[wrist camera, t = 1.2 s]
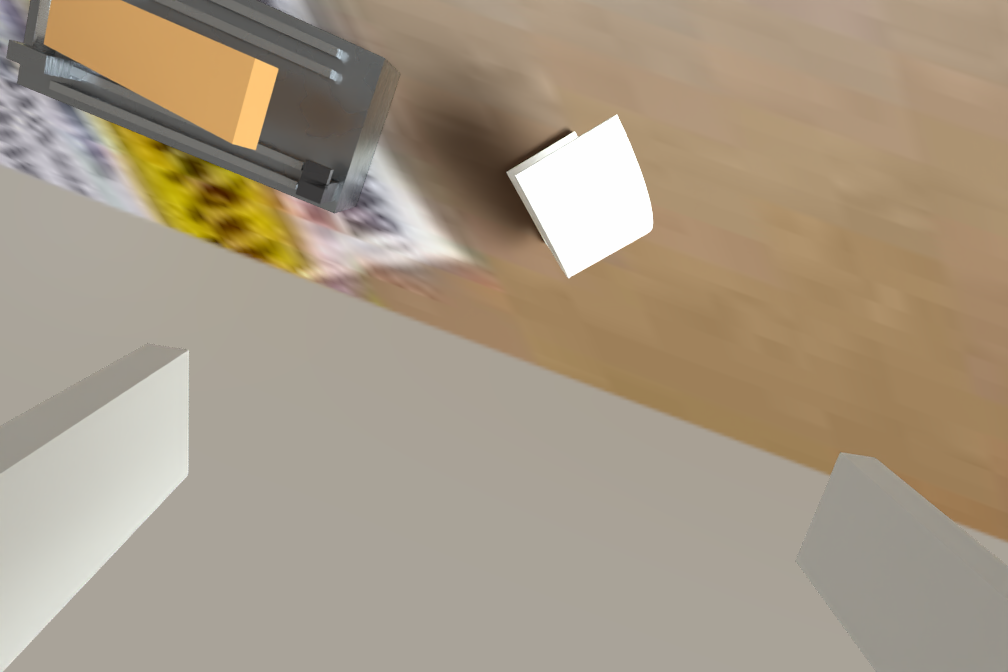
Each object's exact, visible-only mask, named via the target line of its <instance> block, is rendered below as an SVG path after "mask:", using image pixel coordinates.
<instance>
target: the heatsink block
mask: <svg viewBox="0 0 1008 672" xmlns="http://www.w3.org/2000/svg"><path fill="white" fill-rule="evenodd" d="M122 1H124V2H126V3H129V4H131V5H133V6H136V7H138V8H140V9H142V10H145V11H147V12H149V13H152V14H154V15H156V16H159V17H161V18H163V19H166V20H168V21H170V22H173V23H175V24H177V25H180V26H182V27H184V28H186V29H189V30H191V31H193V32H196V33H198V34H200V35H203V36H205V37H207V38H210V39H212V40H214V41H217V42H219V43H221V44H223V45H226V46H228V47H230V48H233V49H235V50H237V51H240V52H242V53H244V54H247V55H249V56H251V57H254V58H256V59H258V60H260V61H263V62H265V63H267V64H269V65H272V66H274V67H276V68H278V73H277V77H276V80H275V84H274V87H273V91H272V94H271V98H270V101H269V105H268V109H267V112H266V116H265V119H264V123H263V126H262V130H261V133H260V137H259V140H258V144H257V148H256V150H253V149H249V148H246V147H242V146H238V145H234V144H231V143H230V142H228V141H226V140H224V139H222V138H220V137H218V136H216V135H214V134H213V133H211V132H209V131H207V130H205V129H203V128H201V127H199V126H197V125H196V124H194V123H192V122H190V121H188V120H186V119H184V118H182V117H180V116H179V115H177V114H175V113H173V112H171V111H169V110H167V109H165V108H163V107H162V106H160V105H158V104H156V103H154V102H152V101H150V100H148V99H146V98H145V97H143V96H141V95H139V94H137V93H135V92H133V91H131V90H129V89H128V88H126V87H124V86H122V85H120V84H118V83H116V82H114V81H112V80H111V79H109V78H107V77H105V76H103V75H101V74H99V73H97V72H95V71H93V70H92V69H90V68H88V67H86V66H84V65H82V64H80V63H78V62H76V61H75V60H73V59H71V58H69V57H67V56H65V55H63V54H61V53H59V52H58V51H56V50H54V49H52V48H50V47H48V46H46V45H44V39H45V33H46V28H47V22H48V16H49V10H50V4H51V0H31V1H30V7H29V13H28V19H27V26H26V32H25V38H24V43H20V42H17V41H13V40H9V45H8V51H7V57H6V58H7V59H10V60H12V61H15V62H17V63H19V64H20V68H19V75H18V81H17V84H19V85H22V86H24V87H27V88H29V89H31V90H34V91H36V92H39V93H41V94H44V95H46V96H49V97H51V98H53V99H56V100H58V101H61V102H63V103H66V104H68V105H71V106H73V107H75V108H78V109H80V110H83V111H85V112H88V113H90V114H93V115H95V116H98V117H100V118H102V119H105V120H107V121H110V122H112V123H115V124H117V125H120V126H122V127H124V128H127V129H129V130H132V131H134V132H137V133H139V134H142V135H144V136H146V137H149V138H151V139H154V140H156V141H159V142H161V143H164V144H166V145H169V146H171V147H173V148H176V149H178V150H181V151H183V152H186V153H188V154H191V155H193V156H195V157H198V158H200V159H203V160H205V161H208V162H210V163H213V164H215V165H217V166H220V167H222V168H225V169H227V170H230V171H232V172H235V173H237V174H240V175H242V176H244V177H247V178H249V179H252V180H254V181H257V182H259V183H262V184H264V185H266V186H269V187H271V188H274V189H276V190H279V191H281V192H284V193H286V194H288V195H291V196H293V197H296V198H298V199H301V200H303V201H306V202H308V203H311V204H313V205H315V206H318V207H320V208H323V209H325V210H328V211H330V212H333V213H337V212H340V211H343V210H347V209H350V208H353V207H356V205H357V202H358V199H359V197H360V194H361V191H362V188H363V185H364V182H365V179H366V176H367V173H368V170H369V167H370V164H371V161H372V158H373V155H374V152H375V149H376V146H377V143H378V140H379V137H380V134H381V131H382V128H383V125H384V122H385V120H386V117H387V114H388V111H389V108H390V105H391V102H392V99H393V96H394V93H395V90H396V87H397V84H398V81H399V78H400V75H401V74H400V73H399V72H398V71H397V70H396V69H395V68H394V67H393V66H392V65H391V64H390V63H389V62H388V61H387V60H386V59H385V58H383V57H381V56H379V55H376V54H374V53H372V52H370V51H368V50H365V49H363V48H361V47H359V46H357V45H354V44H352V43H350V42H348V41H346V40H343V39H341V38H339V37H337V36H335V35H332V34H330V33H328V32H326V31H323V30H321V29H319V28H317V27H315V26H312V25H310V24H308V23H306V22H304V21H301V20H299V19H297V18H295V17H293V16H290V15H288V14H286V13H284V12H281V11H279V10H277V9H275V8H273V7H270V6H268V5H266V4H264V3H262V2H259V1H257V0H122Z"/></svg>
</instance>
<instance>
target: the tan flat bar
mask: <svg viewBox="0 0 1008 672" xmlns="http://www.w3.org/2000/svg"><path fill="white" fill-rule="evenodd" d="M44 45H46V46H48V47H50V48H52V49H54V50H56V51H58V52H59V53H61V54H63V55H65V56H67V57H69V58H71V59H73V60H75V61H76V62H78V63H80V64H82V65H84V66H86V67H88V68H90V69H92V70H93V71H95V72H97V73H99V74H101V75H103V76H105V77H107V78H109V79H111V80H112V81H114V82H116V83H118V84H120V85H122V86H124V87H126V88H128V89H129V90H131V91H133V92H135V93H137V94H139V95H141V96H143V97H145V98H146V99H148V100H150V101H152V102H154V103H156V104H158V105H160V106H162V107H163V108H165V109H167V110H169V111H171V112H173V113H175V114H177V115H179V116H180V117H182V118H184V119H186V120H188V121H190V122H192V123H194V124H196V125H197V126H199V127H201V128H203V129H205V130H207V131H209V132H211V133H213V134H214V135H216V136H218V137H220V138H222V139H224V140H226V141H228V142H230V143H231V144H234V145H238V146H242V147H246V148H249V149H253V150H256V148H257V144H258V140H259V137H260V133H261V130H262V126H263V123H264V119H265V116H266V112H267V109H268V105H269V101H270V98H271V94H272V91H273V87H274V84H275V80H276V77H277V73H278V68H276V67H274V66H272V65H269V64H267V63H265V62H263V61H260V60H258V59H256V58H254V57H251V56H249V55H247V54H244V53H242V52H240V51H237V50H235V49H233V48H230V47H228V46H226V45H223V44H221V43H219V42H217V41H214V40H212V39H210V38H207V37H205V36H203V35H200V34H198V33H196V32H193V31H191V30H189V29H186V28H184V27H182V26H180V25H177V24H175V23H173V22H170V21H168V20H166V19H163V18H161V17H159V16H156V15H154V14H152V13H149V12H147V11H145V10H142V9H140V8H138V7H136V6H133V5H131V4H129V3H126V2H124V1H122V0H51V4H50V10H49V16H48V22H47V28H46V33H45V39H44Z"/></svg>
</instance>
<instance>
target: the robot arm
mask: <svg viewBox="0 0 1008 672" xmlns="http://www.w3.org/2000/svg"><path fill="white" fill-rule="evenodd" d="M188 416H189V350H186V349H180V348H173V347H167V346H161V345H155V344H148V343H147V344H145V345H144V346H142V347H140V348H138V349H136V350H135V351H133V352H131V353H129V354H128V355H126V356H124V357H122V358H120V359H119V360H117V361H115V362H113V363H111V364H110V365H108V366H106V367H104V368H102V369H101V370H99V371H97V372H95V373H94V374H92V375H90V376H88V377H86V378H85V379H83V380H81V381H79V382H78V383H76V384H74V385H72V386H70V387H69V388H67V389H65V390H64V391H62V392H60V393H58V394H56V395H54V396H53V397H51V398H49V399H47V400H45V401H44V402H42V403H40V404H38V405H37V406H35V407H33V408H31V409H29V410H28V411H26V412H24V413H22V414H20V415H19V416H17V417H15V418H13V419H11V420H10V421H8V422H6V423H4V424H3V425H1V426H0V672H3V671H4V670H5V668H7V667H8V666H9V665H10V663H11V662H12V661H13V660H14V659H15V658H16V657H17V656H18V655H19V654H20V653H21V652H22V651H23V649H25V648H26V646H27V645H28V644H29V643H30V642H31V641H32V640H33V639H34V638H35V637H36V636H37V635H38V634H39V633H40V632H41V630H42V629H43V628H44V627H45V626H46V625H47V624H48V623H49V622H50V621H51V620H52V619H53V618H54V617H55V616H56V615H57V614H58V612H59V611H60V610H61V609H62V608H63V607H64V606H65V605H66V604H67V603H68V602H69V601H70V600H71V598H72V597H74V595H75V594H76V593H77V592H78V591H79V590H80V589H81V588H82V587H83V586H84V585H85V584H86V583H87V582H88V580H89V579H90V578H91V577H92V576H93V575H94V574H95V573H96V572H97V571H98V570H99V569H100V568H101V567H102V566H103V565H104V564H105V563H106V561H107V560H108V559H109V558H110V557H111V556H112V555H113V554H114V553H115V552H116V551H117V550H118V549H119V548H120V546H122V544H123V543H124V542H125V541H126V540H127V539H128V538H129V537H130V536H131V535H132V534H133V533H134V532H135V530H137V529H138V527H139V526H140V525H141V524H142V523H143V522H144V521H145V520H146V519H147V518H148V517H149V516H150V515H151V513H153V512H154V510H155V509H156V508H157V507H158V506H159V505H160V504H161V503H162V502H163V501H164V500H165V499H166V498H167V496H169V495H170V493H171V492H172V491H173V490H174V489H175V488H176V487H177V486H178V485H179V484H180V483H181V482H182V481H183V480H184V479H185V477H186V476H187V475H188V448H189V447H188V441H189V440H188V439H189V438H188V437H189V435H188V434H189V427H188V425H189V417H188ZM796 562H797V564H798V565H799V567H800V568H801V569H802V570H803V572H804V573H805V575H806V576H807V578H808V579H809V580H810V582H811V583H812V584H813V586H814V587H815V589H816V590H817V591H818V593H819V594H820V595H821V597H822V598H823V599H824V601H825V602H826V604H827V605H828V606H829V608H830V609H831V611H832V612H833V613H834V615H835V616H836V617H837V619H838V620H839V622H840V623H841V624H842V626H843V627H844V629H845V630H846V631H847V633H848V634H849V635H850V636H851V638H852V640H853V641H854V642H855V644H856V645H857V646H858V648H859V649H860V651H861V652H862V653H863V655H864V656H865V657H866V659H867V660H868V662H869V663H870V664H871V666H872V667H873V668H874V670H875V671H876V672H1008V566H1007V565H1006V564H1005V563H1003V562H1002V561H1001V560H1000V559H999V558H997V557H996V556H995V555H994V554H992V553H991V552H990V551H989V550H988V549H986V548H985V547H984V546H983V545H981V544H980V543H979V542H978V541H977V540H975V539H974V538H973V537H972V536H970V535H969V534H968V533H967V532H966V531H964V530H963V529H962V528H961V527H959V526H958V525H957V524H956V523H954V522H953V521H952V520H951V519H950V518H948V517H947V516H946V515H945V514H943V513H942V512H941V511H940V510H939V509H937V508H936V507H935V506H934V505H932V504H931V503H930V502H929V501H927V500H926V499H925V498H924V497H923V496H921V495H920V494H919V493H918V492H916V491H915V490H914V489H913V488H912V487H910V486H909V485H908V484H907V483H905V482H904V481H903V480H902V479H901V478H899V477H898V476H897V475H896V474H894V473H893V472H892V471H891V470H889V469H888V468H887V467H886V466H885V465H883V464H882V463H881V462H880V461H878V460H877V459H876V458H873V457H867V456H861V455H854V454H848V453H841V452H840V454H839V456H838V459H837V461H836V464H835V466H834V469H833V471H832V473H831V476H830V478H829V481H828V483H827V485H826V488H825V490H824V493H823V495H822V498H821V500H820V502H819V505H818V507H817V510H816V512H815V514H814V517H813V519H812V522H811V524H810V527H809V529H808V531H807V534H806V536H805V539H804V541H803V543H802V546H801V548H800V551H799V553H798V556H797V558H796Z"/></svg>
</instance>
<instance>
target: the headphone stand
mask: <svg viewBox="0 0 1008 672" xmlns="http://www.w3.org/2000/svg"><path fill="white" fill-rule="evenodd" d="M506 173H507V174H508V176H509V178H510V180H511V182H512V183H513V185H514V187H515V189H516V191H517V193H518V194H519V196H520V198H521V200H522V202H523V203H524V205H525V207H526V209H527V211H528V213H529V214H530V216H531V218H532V220H533V222H534V223H535V225H536V227H537V229H538V231H539V232H540V234H541V236H542V238H543V240H544V242H545V243H546V245H548V247H549V249H550V250H551V252H552V254H553V256H554V257H555V259H556V261H557V262H558V264H559V266H560V267H561V269H562V270H563V272H564V273H565V275H566V276H567V278H570V277H571V276H573V275H575V274H577V273H578V272H580V271H582V270H584V269H585V268H587V267H589V266H591V265H593V264H594V263H596V262H598V261H600V260H601V259H603V258H605V257H607V256H609V255H610V254H612V253H614V252H616V251H617V250H619V249H621V248H623V247H624V246H626V245H628V244H630V243H632V242H633V241H635V240H637V239H639V238H640V237H642V236H644V235H646V234H648V233H649V232H650V231H651V230H652V227H653V215H652V209H651V203H650V199H649V195H648V192H647V188H646V185H645V182H644V179H643V176H642V173H641V170H640V168H639V165H638V162H637V159H636V157H635V154H634V152H633V149H632V147H631V145H630V142H629V140H628V138H627V135H626V133H625V131H624V129H623V126H622V124H621V122H620V120H619V118H618V116H617V115H615V116H613V117H611V118H609V119H608V120H606V121H604V122H603V123H601V124H599V125H598V126H596V127H594V128H593V129H591V130H589V131H587V132H586V133H584V134H582V135H581V136H579V137H578V136H577V134H576V133H575V131H574V132H572V133H570V134H569V135H567V136H565V137H564V138H562V139H560V140H559V141H557V142H555V143H554V144H552V145H550V146H549V147H547V148H545V149H544V150H542V151H540V152H539V153H537V154H535V155H534V156H532V157H530V158H529V159H527V160H525V161H524V162H522V163H520V164H519V165H517V166H515V167H514V168H512V169H510V170H509V171H507V172H506Z"/></svg>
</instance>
